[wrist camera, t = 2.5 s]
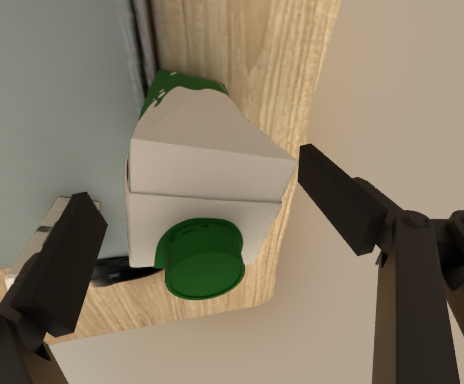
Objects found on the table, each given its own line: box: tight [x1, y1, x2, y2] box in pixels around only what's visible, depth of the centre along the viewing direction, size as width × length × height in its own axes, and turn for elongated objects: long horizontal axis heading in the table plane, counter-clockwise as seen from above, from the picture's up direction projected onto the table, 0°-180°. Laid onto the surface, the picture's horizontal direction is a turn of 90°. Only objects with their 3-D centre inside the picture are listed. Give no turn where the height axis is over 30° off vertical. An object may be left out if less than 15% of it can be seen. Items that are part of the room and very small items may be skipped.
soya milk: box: [125, 70, 298, 300], centre depth 18 cm, size 9×9×20 cm
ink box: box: [5, 197, 100, 291], centre depth 27 cm, size 9×5×12 cm, turn 160°
